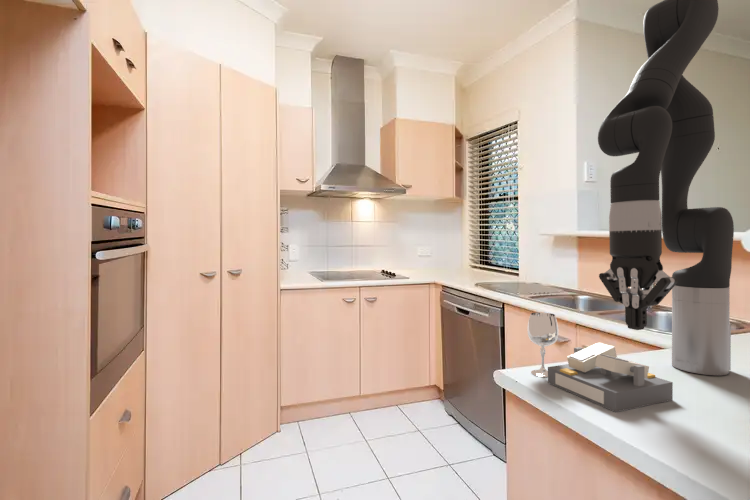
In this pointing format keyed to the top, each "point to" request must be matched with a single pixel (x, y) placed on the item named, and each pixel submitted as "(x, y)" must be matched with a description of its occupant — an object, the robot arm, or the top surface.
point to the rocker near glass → (589, 356)
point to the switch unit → (612, 386)
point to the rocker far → (618, 365)
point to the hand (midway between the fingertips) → (635, 328)
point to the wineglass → (542, 335)
